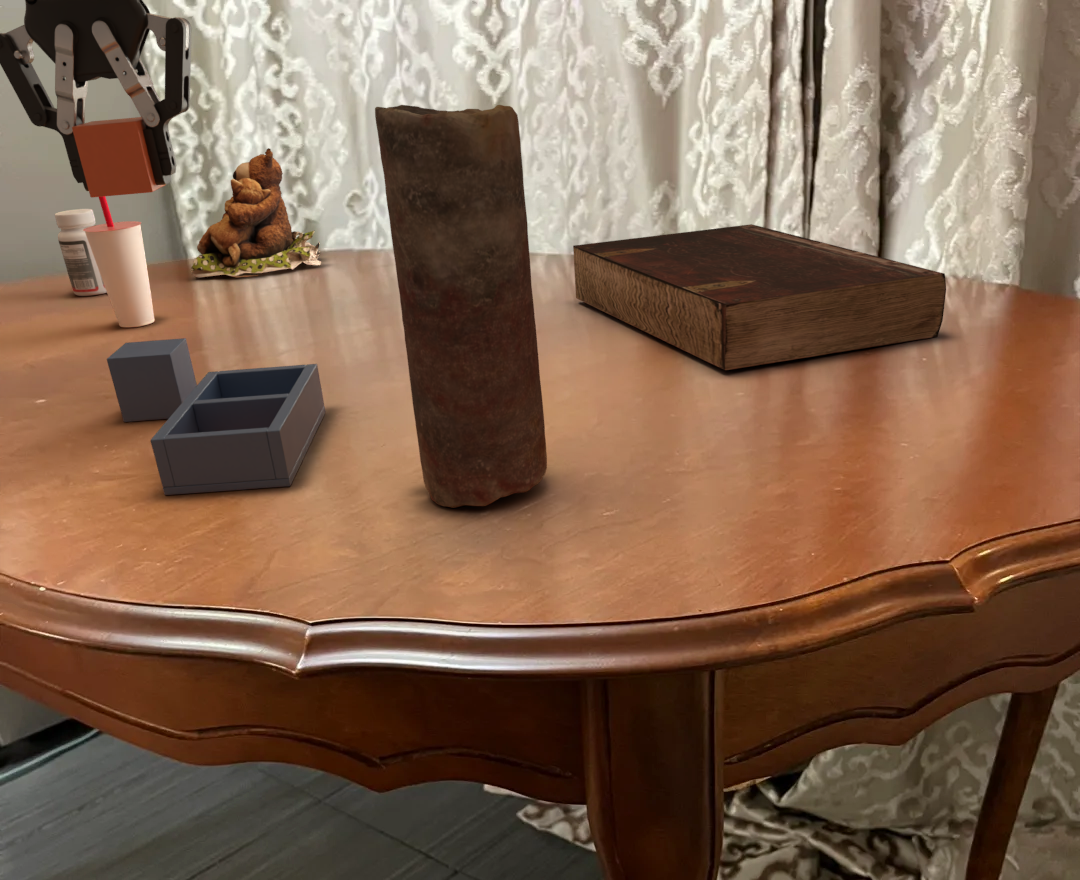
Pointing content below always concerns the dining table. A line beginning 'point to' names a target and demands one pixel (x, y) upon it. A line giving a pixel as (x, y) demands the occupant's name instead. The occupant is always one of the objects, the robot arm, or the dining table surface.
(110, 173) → the terracotta block
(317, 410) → the tray
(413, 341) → the brown tall block
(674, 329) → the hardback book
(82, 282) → the pill bottle
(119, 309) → the cup
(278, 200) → the bear figurine
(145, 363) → the blue block
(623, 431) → the dining table surface
